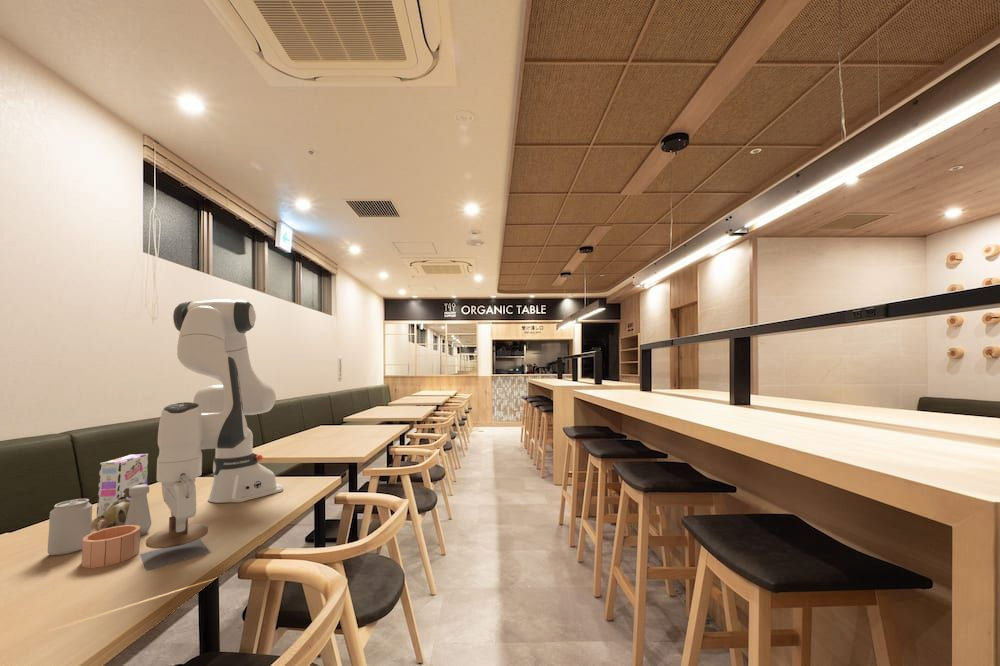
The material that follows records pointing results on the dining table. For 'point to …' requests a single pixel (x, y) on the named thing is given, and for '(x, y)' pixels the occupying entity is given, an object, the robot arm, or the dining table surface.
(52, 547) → the can
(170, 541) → the lid
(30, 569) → the dining table surface
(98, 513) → the candy box
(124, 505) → the ceramic sculpture
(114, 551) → the bowl
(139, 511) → the salt shaker
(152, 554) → the mat
